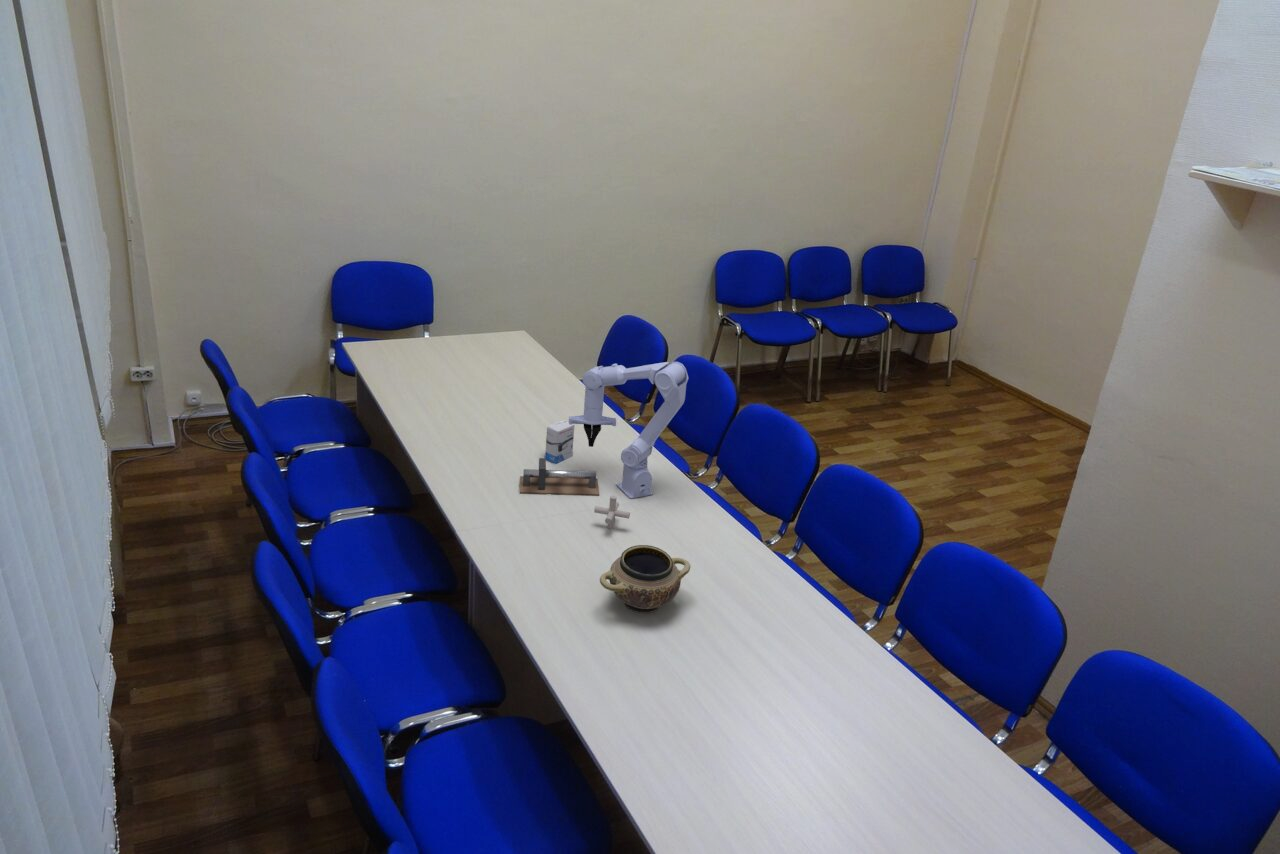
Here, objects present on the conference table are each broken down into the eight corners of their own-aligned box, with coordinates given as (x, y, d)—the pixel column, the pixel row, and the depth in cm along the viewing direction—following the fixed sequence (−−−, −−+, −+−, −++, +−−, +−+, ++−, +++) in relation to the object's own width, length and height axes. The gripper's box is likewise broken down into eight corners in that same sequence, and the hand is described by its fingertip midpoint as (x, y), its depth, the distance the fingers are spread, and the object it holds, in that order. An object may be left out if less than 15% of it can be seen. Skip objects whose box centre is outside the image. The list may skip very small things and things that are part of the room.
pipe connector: (624, 539, 258) (626, 508, 254) (589, 533, 260) (591, 502, 256) (631, 522, 267) (634, 492, 263) (598, 516, 269) (600, 486, 265)
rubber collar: (544, 478, 285) (545, 458, 282) (544, 489, 279) (545, 468, 276) (538, 478, 285) (539, 458, 282) (538, 489, 278) (539, 468, 275)
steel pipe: (594, 483, 285) (595, 469, 283) (595, 488, 283) (596, 473, 280) (523, 481, 282) (523, 466, 280) (523, 486, 280) (523, 471, 278)
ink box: (555, 464, 296) (557, 431, 291) (544, 459, 299) (545, 426, 294) (573, 456, 302) (575, 423, 297) (561, 451, 305) (563, 418, 300)
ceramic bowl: (605, 635, 223) (615, 595, 214) (582, 581, 235) (591, 540, 226) (695, 618, 233) (709, 578, 224) (669, 566, 245) (681, 527, 236)
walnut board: (597, 480, 289) (597, 478, 288) (599, 495, 280) (599, 494, 280) (520, 477, 286) (520, 476, 285) (519, 493, 277) (519, 492, 276)
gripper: (616, 401, 286) (613, 440, 292) (569, 399, 284) (567, 438, 290) (618, 410, 280) (614, 450, 285) (570, 408, 278) (567, 448, 283)
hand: (590, 445), depth 287 cm, fingers closed
